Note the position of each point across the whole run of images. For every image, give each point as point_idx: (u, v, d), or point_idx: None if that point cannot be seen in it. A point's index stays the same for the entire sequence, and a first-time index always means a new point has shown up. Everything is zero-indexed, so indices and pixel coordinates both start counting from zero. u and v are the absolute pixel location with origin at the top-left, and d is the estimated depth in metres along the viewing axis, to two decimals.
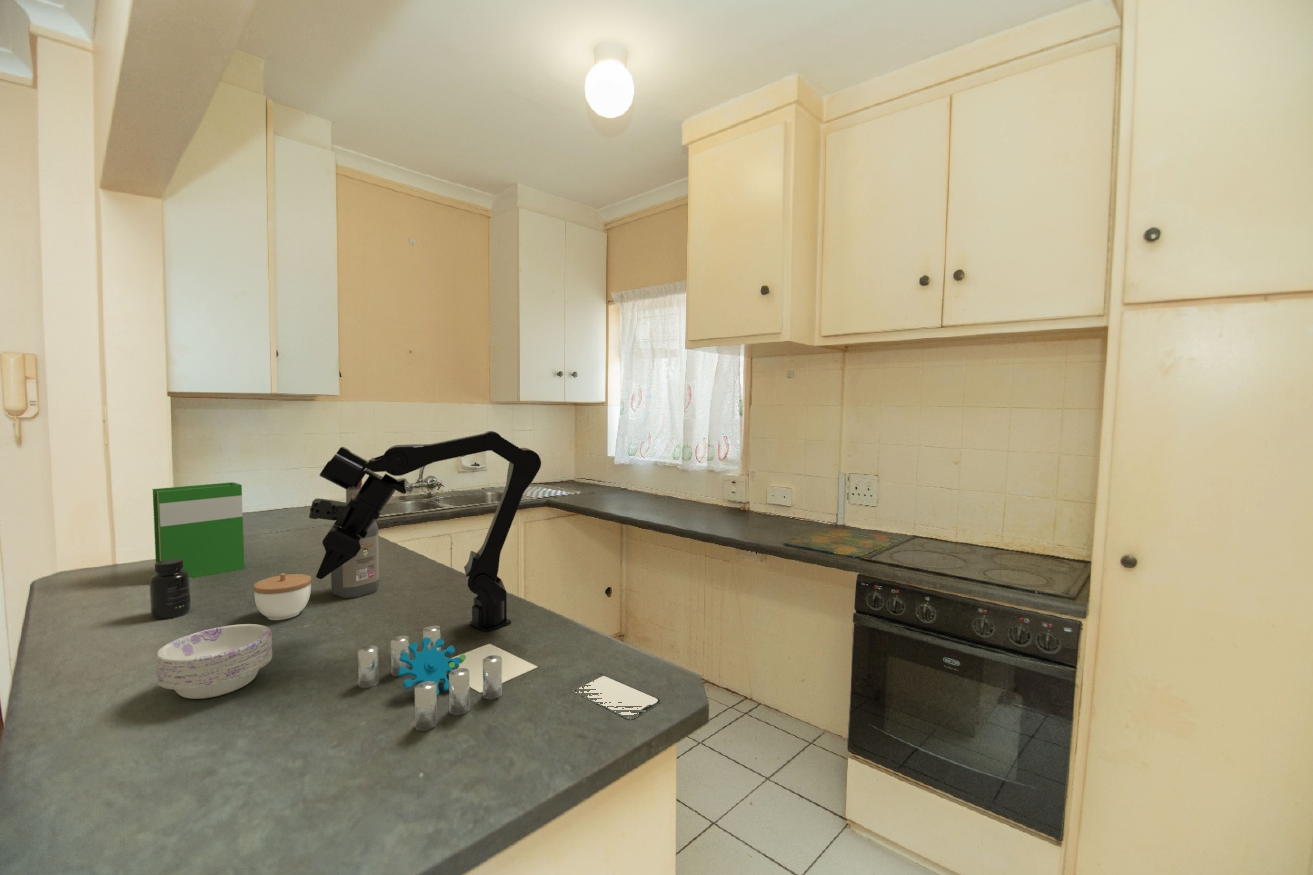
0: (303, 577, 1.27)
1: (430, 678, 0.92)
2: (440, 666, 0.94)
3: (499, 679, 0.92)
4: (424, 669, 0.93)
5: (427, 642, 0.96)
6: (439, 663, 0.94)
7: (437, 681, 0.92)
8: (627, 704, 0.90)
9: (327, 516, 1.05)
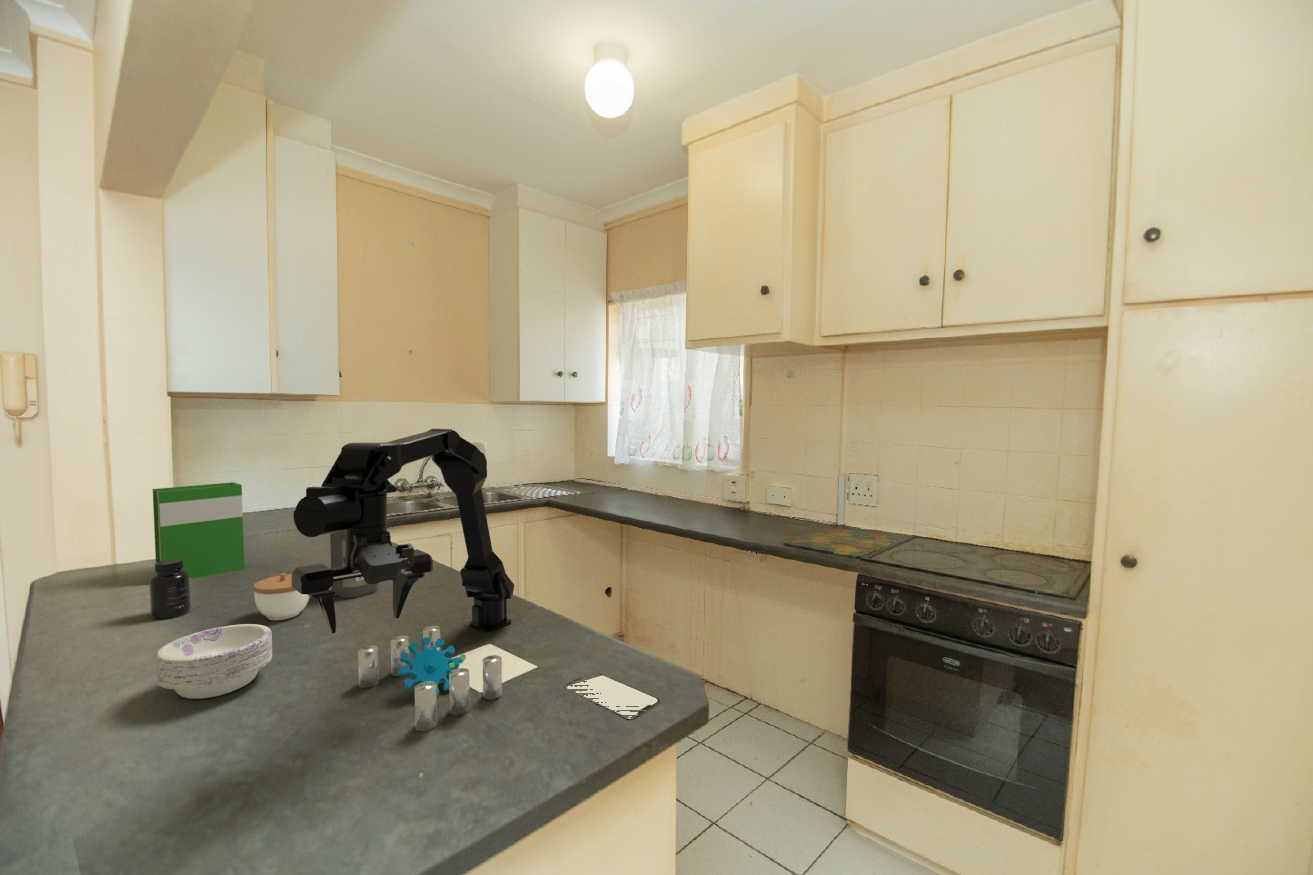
0: None
1: (430, 678, 0.92)
2: (440, 666, 0.94)
3: (499, 679, 0.92)
4: (424, 669, 0.93)
5: (427, 642, 0.96)
6: (439, 663, 0.94)
7: (437, 681, 0.92)
8: (627, 704, 0.90)
9: None
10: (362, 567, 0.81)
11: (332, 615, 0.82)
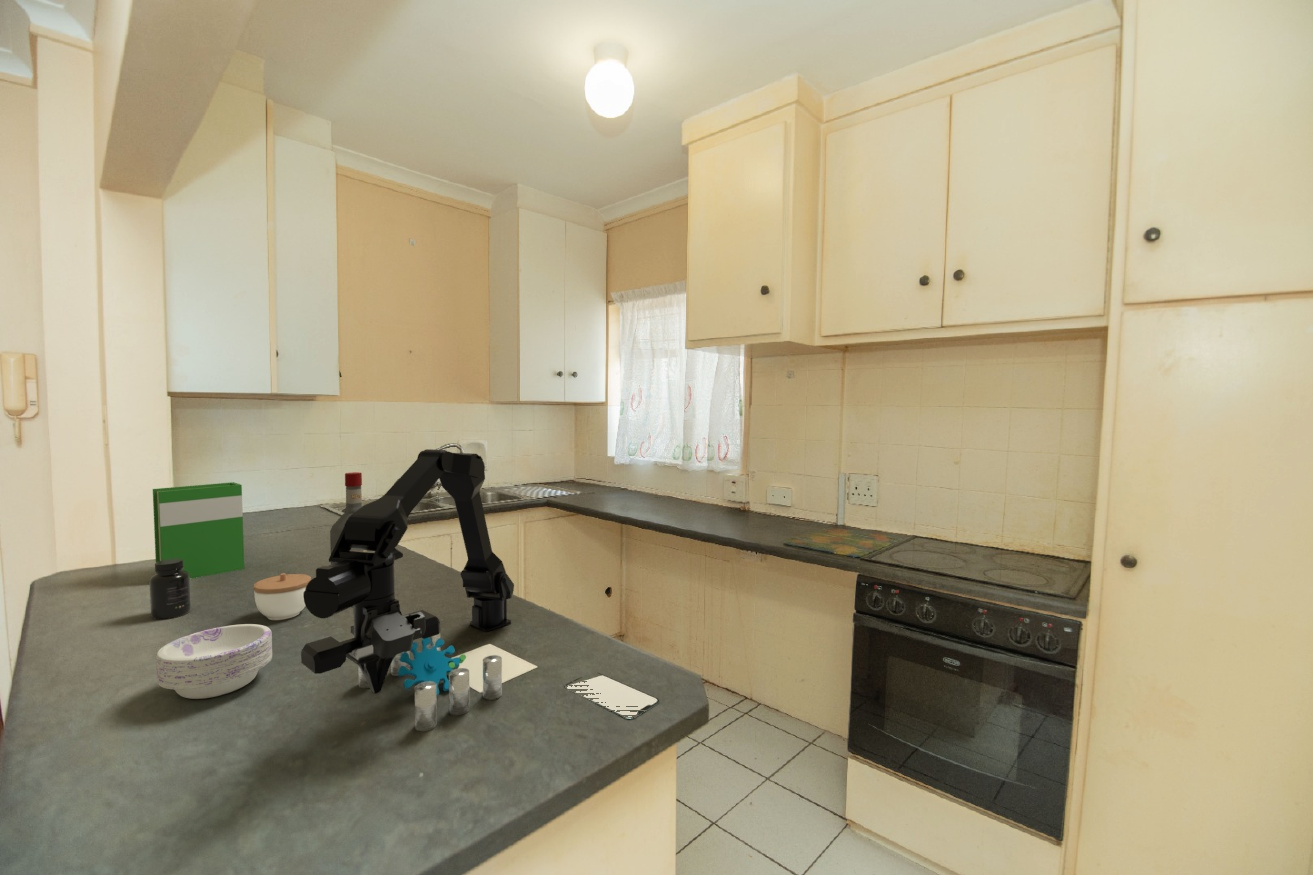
0: (303, 577, 1.27)
1: (430, 678, 0.92)
2: (440, 666, 0.94)
3: (499, 679, 0.92)
4: (424, 669, 0.93)
5: (427, 642, 0.96)
6: (439, 663, 0.94)
7: (437, 681, 0.92)
8: (626, 704, 0.90)
9: None
10: (375, 641, 0.81)
11: (375, 677, 0.86)
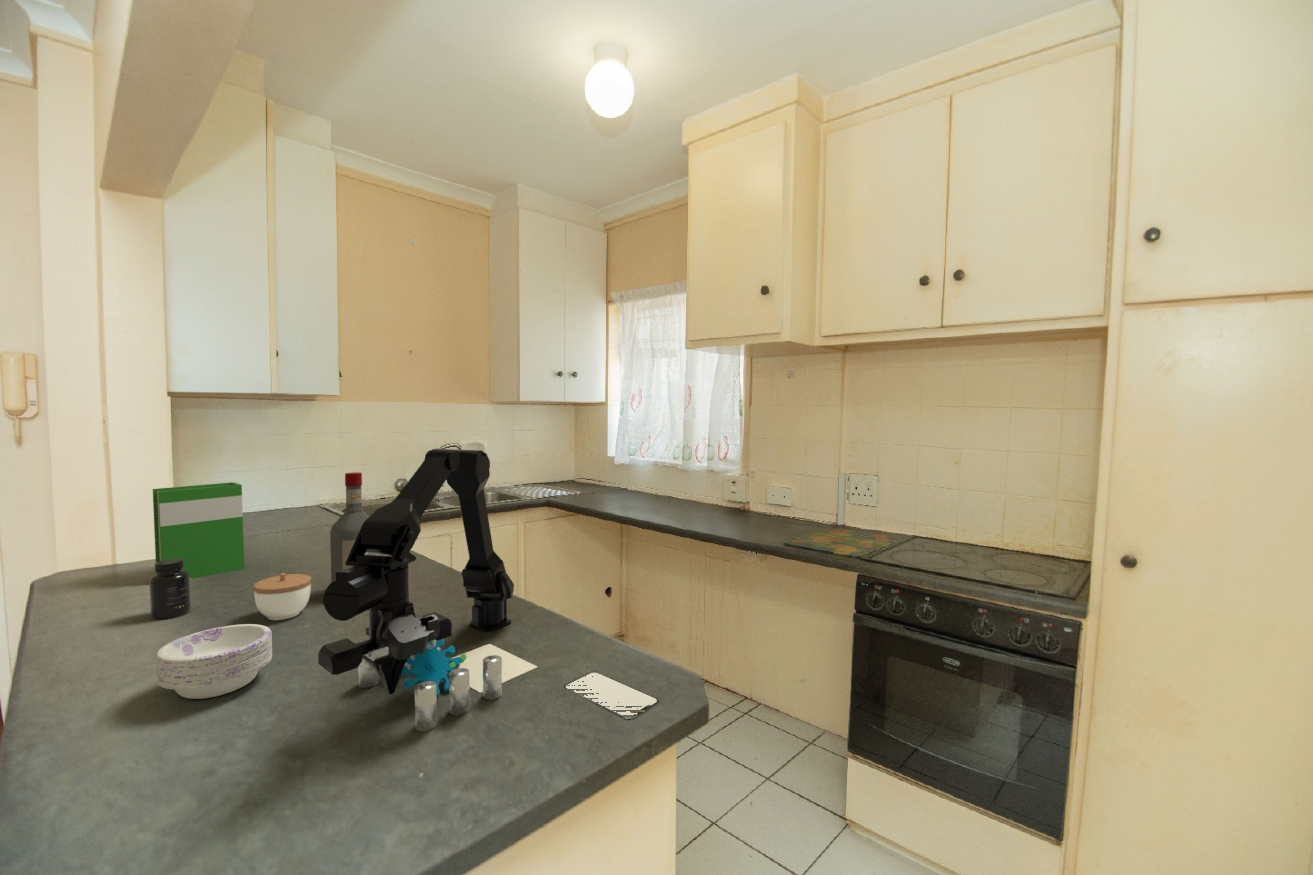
0: (303, 577, 1.27)
1: (431, 678, 0.92)
2: (441, 666, 0.94)
3: (499, 679, 0.92)
4: (425, 669, 0.93)
5: (428, 642, 0.96)
6: (440, 663, 0.95)
7: (438, 681, 0.92)
8: (626, 704, 0.90)
9: None
10: (390, 643, 0.83)
11: (390, 678, 0.88)
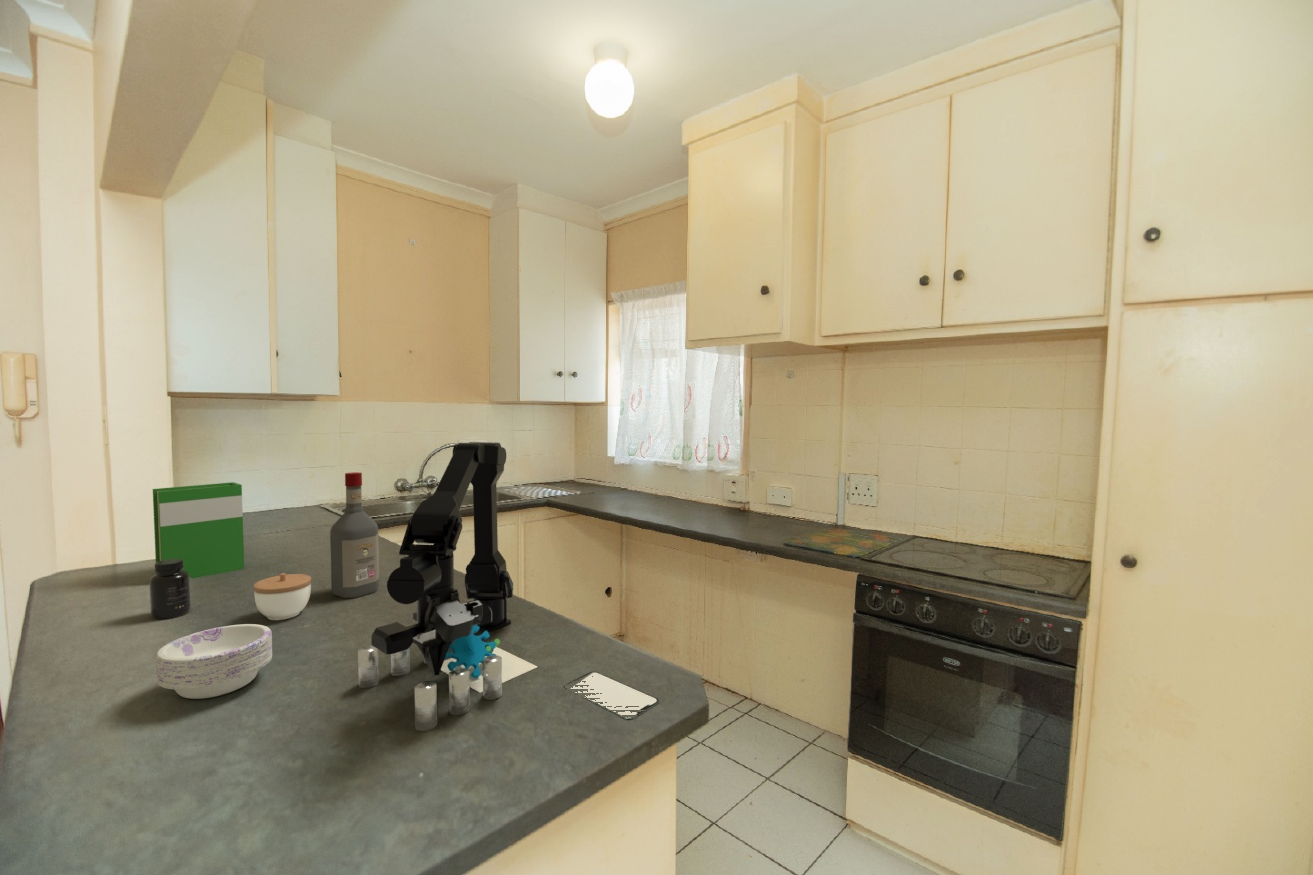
0: (303, 577, 1.27)
1: (471, 660, 0.98)
2: (478, 649, 1.01)
3: (499, 679, 0.92)
4: (465, 652, 0.99)
5: None
6: (477, 647, 1.01)
7: (477, 663, 0.99)
8: (626, 704, 0.90)
9: None
10: (439, 626, 0.89)
11: (435, 660, 0.93)
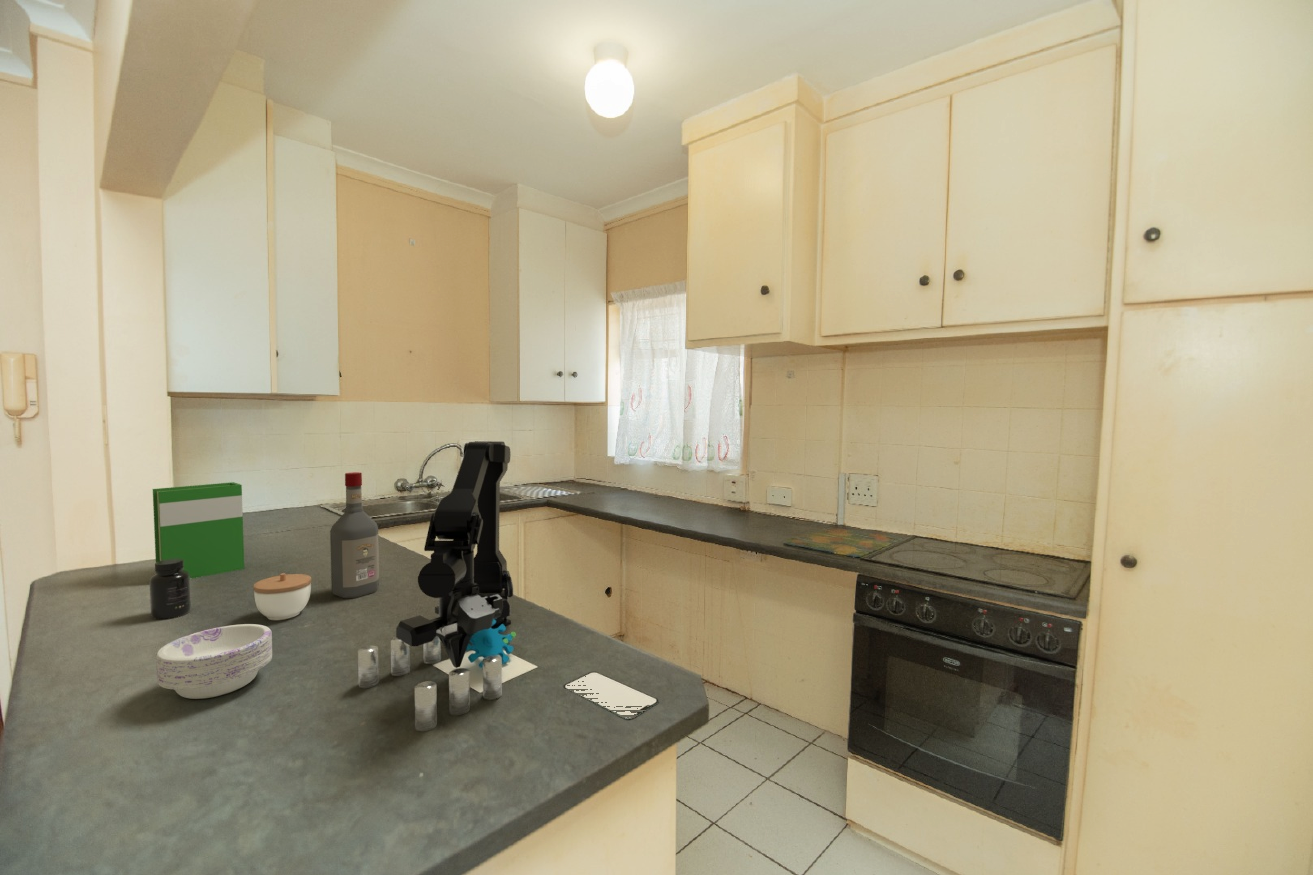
0: (303, 577, 1.27)
1: (490, 652, 1.02)
2: (496, 642, 1.04)
3: (499, 679, 0.92)
4: (484, 645, 1.02)
5: None
6: (495, 639, 1.04)
7: None
8: (626, 704, 0.90)
9: None
10: (461, 619, 0.92)
11: (457, 652, 0.96)
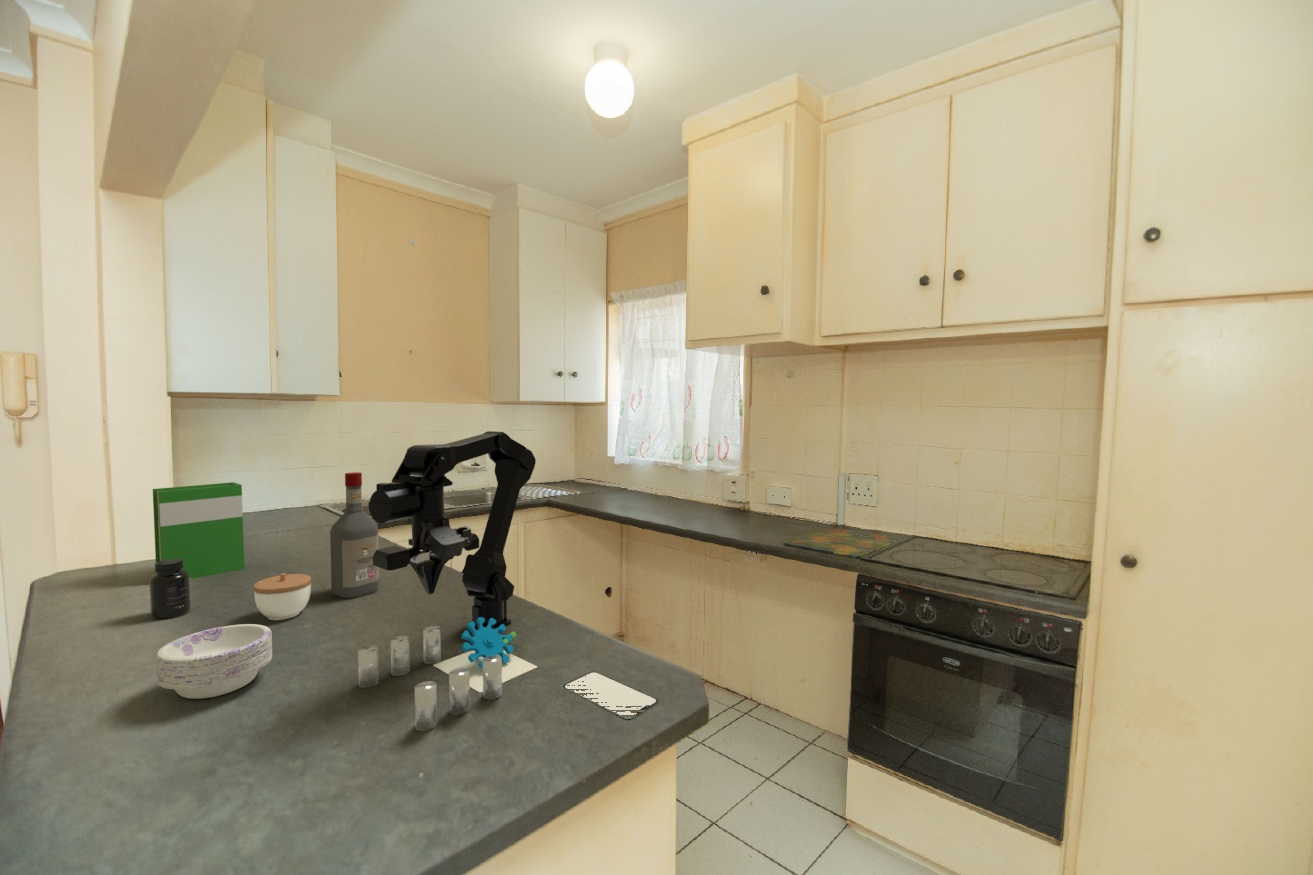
0: (303, 577, 1.27)
1: (490, 652, 1.02)
2: (496, 642, 1.04)
3: (499, 679, 0.92)
4: (484, 645, 1.02)
5: (482, 621, 1.05)
6: (495, 639, 1.04)
7: None
8: (625, 704, 0.90)
9: None
10: (433, 546, 1.00)
11: (430, 580, 1.05)
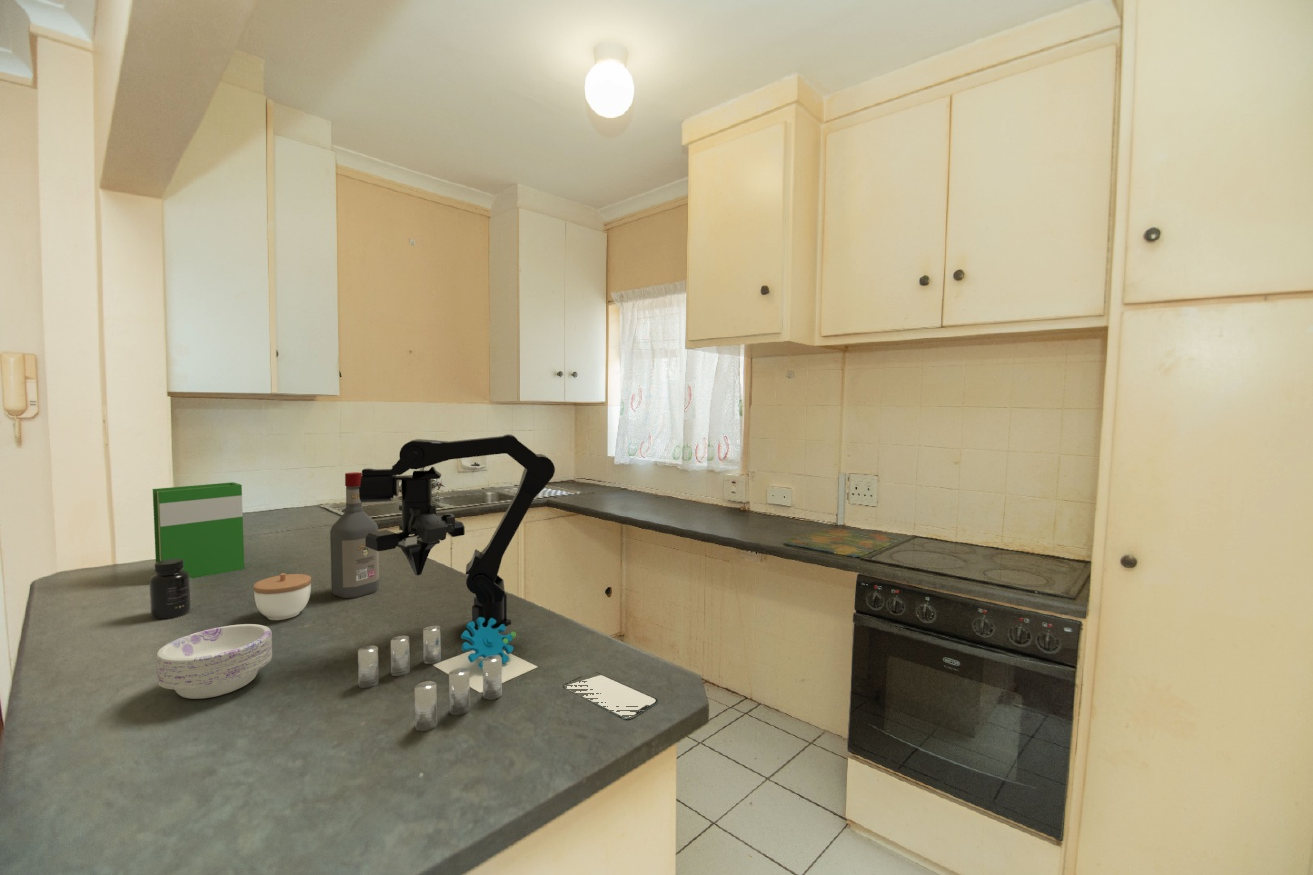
0: (303, 577, 1.27)
1: (490, 652, 1.02)
2: (496, 642, 1.04)
3: (499, 679, 0.92)
4: (484, 645, 1.02)
5: (482, 621, 1.05)
6: (495, 639, 1.04)
7: None
8: (625, 704, 0.90)
9: None
10: (419, 531, 1.11)
11: (417, 562, 1.15)
